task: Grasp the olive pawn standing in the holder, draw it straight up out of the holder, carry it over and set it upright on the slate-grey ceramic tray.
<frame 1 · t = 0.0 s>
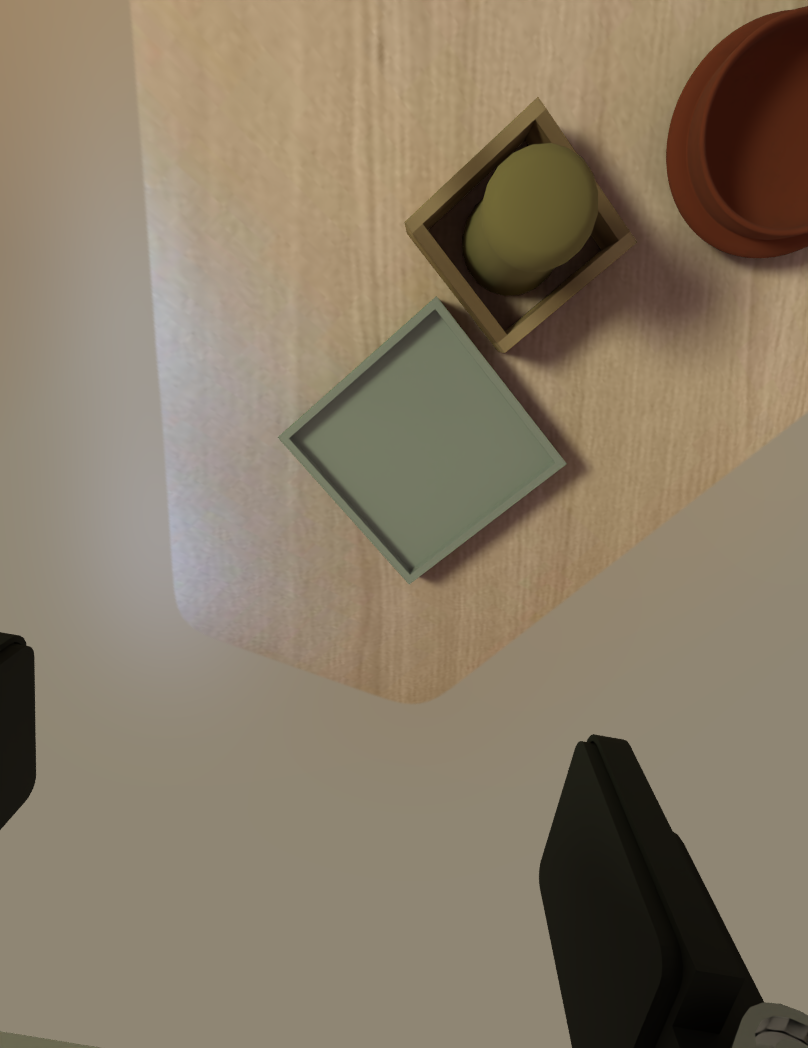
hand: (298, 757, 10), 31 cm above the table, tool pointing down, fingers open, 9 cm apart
pottery: (789, 71, 33), on the table
tray: (422, 445, 40), on the table
holder: (512, 242, 36), on the table
olive pawn: (511, 242, 36), resting in holder
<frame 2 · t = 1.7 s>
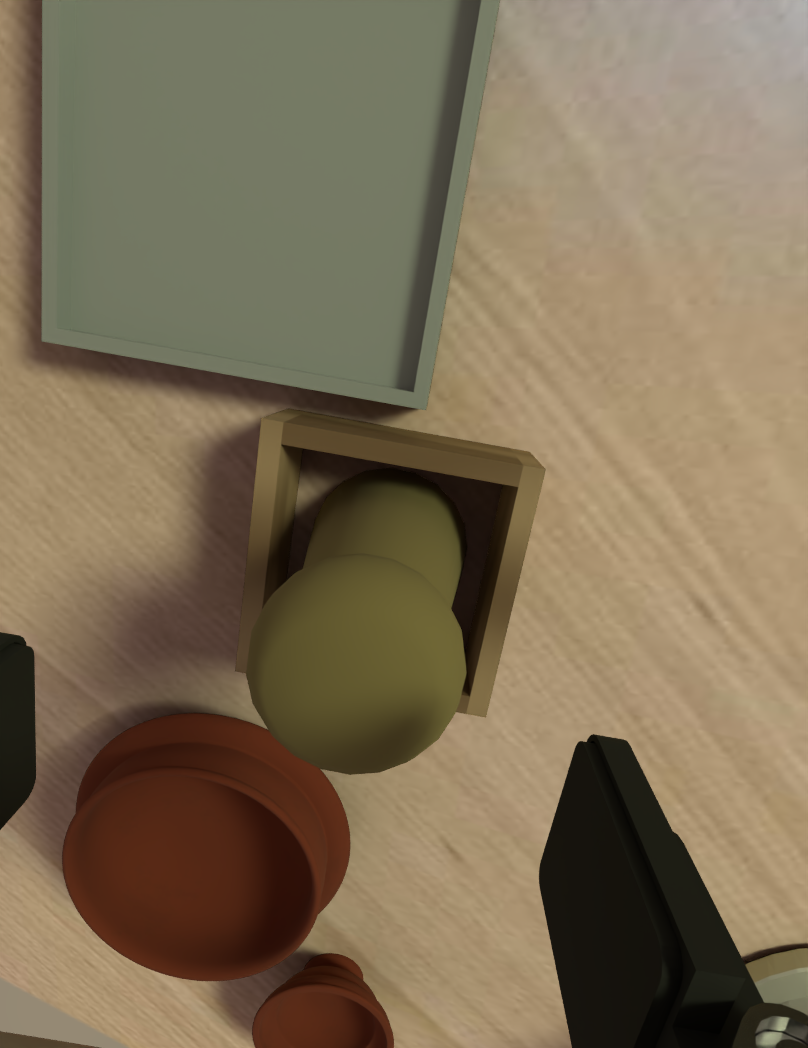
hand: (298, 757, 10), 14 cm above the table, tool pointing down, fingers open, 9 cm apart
pottery: (271, 866, 28), on the table
tray: (270, 176, 20), on the table
holder: (389, 544, 23), on the table
olive pawn: (389, 543, 24), resting in holder
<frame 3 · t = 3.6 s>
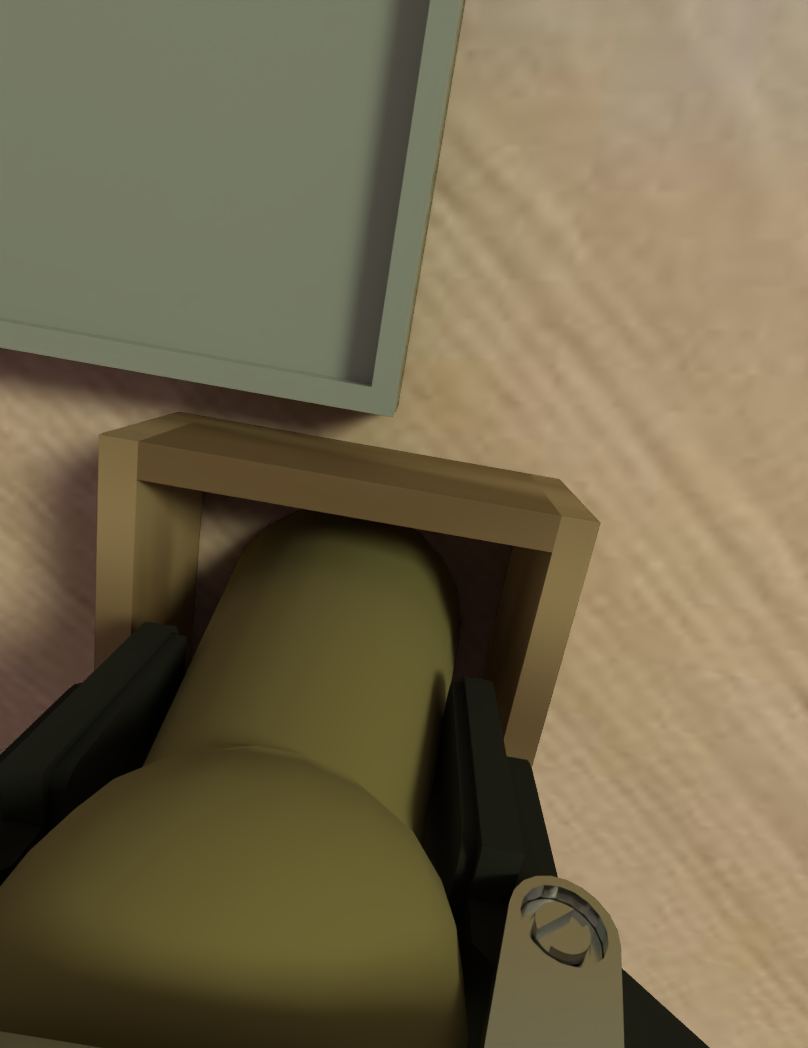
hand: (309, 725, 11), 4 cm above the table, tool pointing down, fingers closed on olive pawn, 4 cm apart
tray: (124, 14, 12), on the table
holder: (342, 618, 15), on the table
olive pawn: (343, 615, 15), resting in holder, touching gripper
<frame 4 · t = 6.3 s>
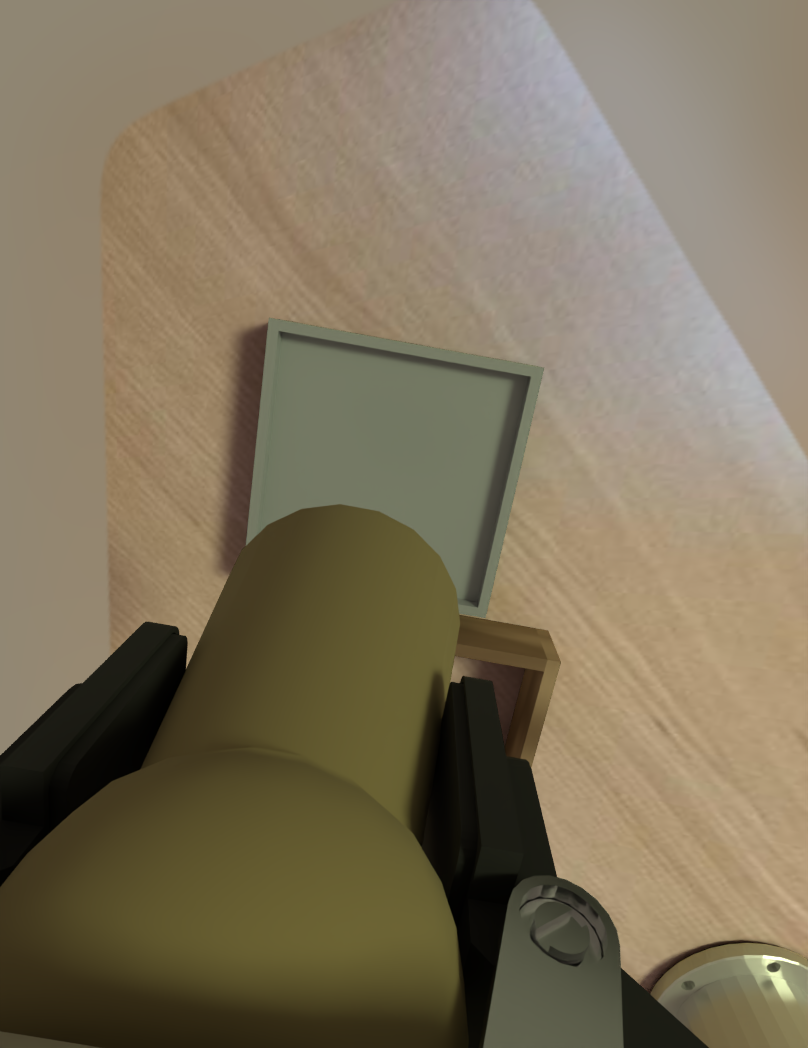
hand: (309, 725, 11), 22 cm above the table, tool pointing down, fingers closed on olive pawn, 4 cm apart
tray: (387, 469, 32), on the table
holder: (454, 685, 35), on the table
olive pawn: (342, 615, 15), point 17 cm above the table, touching gripper
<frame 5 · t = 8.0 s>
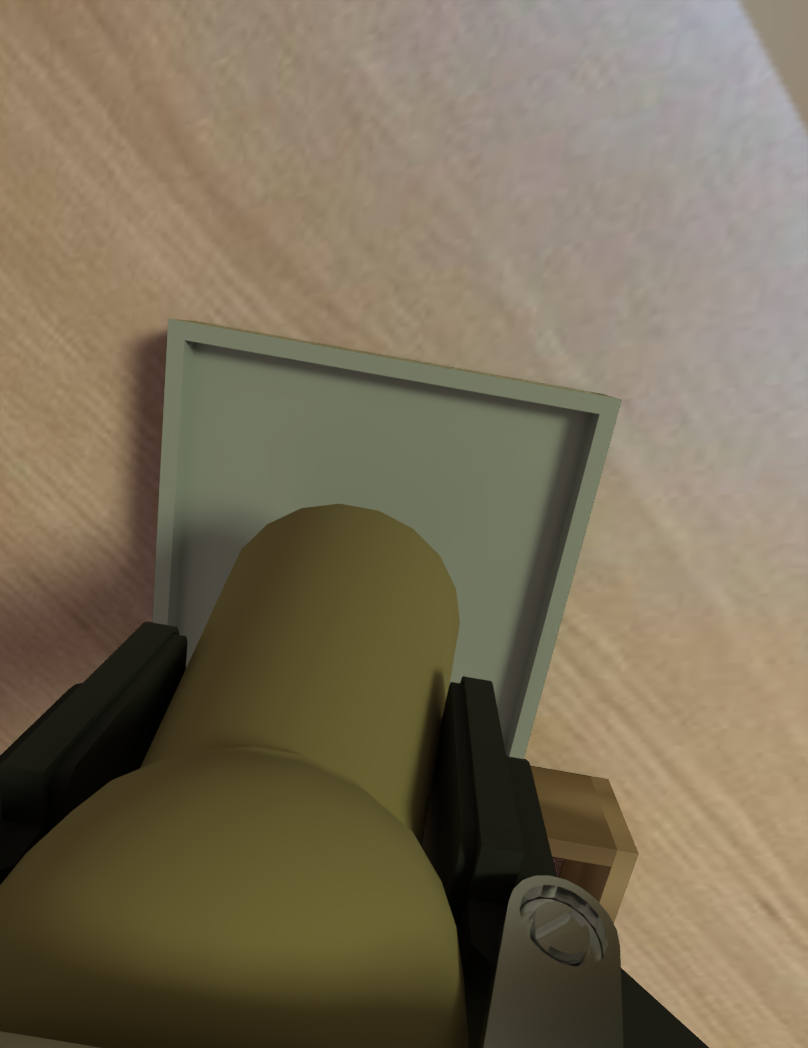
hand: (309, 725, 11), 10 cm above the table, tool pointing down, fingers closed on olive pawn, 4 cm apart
tray: (367, 550, 21), on the table
holder: (469, 851, 24), on the table
olive pawn: (341, 614, 15), point 5 cm above the table, touching gripper
when the fingers open (6 cm above the table, at t = 9.4 s): olive pawn stays where it is, resting on tray.
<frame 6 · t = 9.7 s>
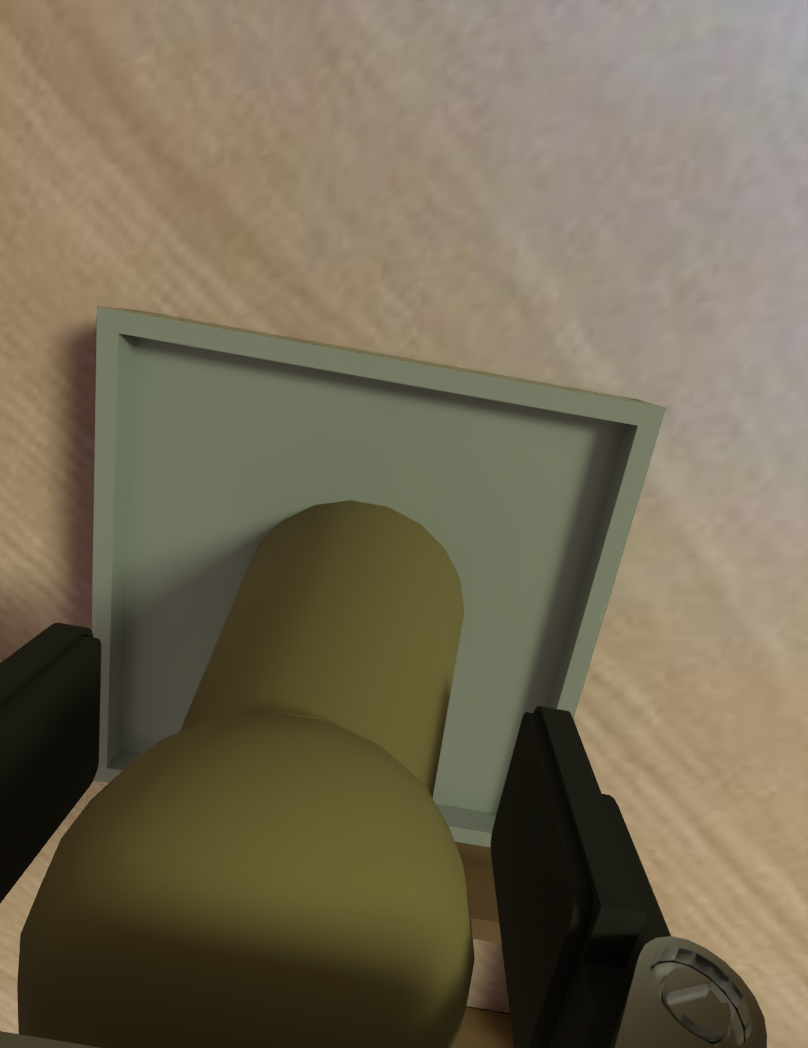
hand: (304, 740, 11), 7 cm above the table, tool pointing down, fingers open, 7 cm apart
tray: (352, 585, 17), on the table
holder: (472, 928, 21), on the table
olive pawn: (353, 605, 16), point 1 cm above the table, touching tray
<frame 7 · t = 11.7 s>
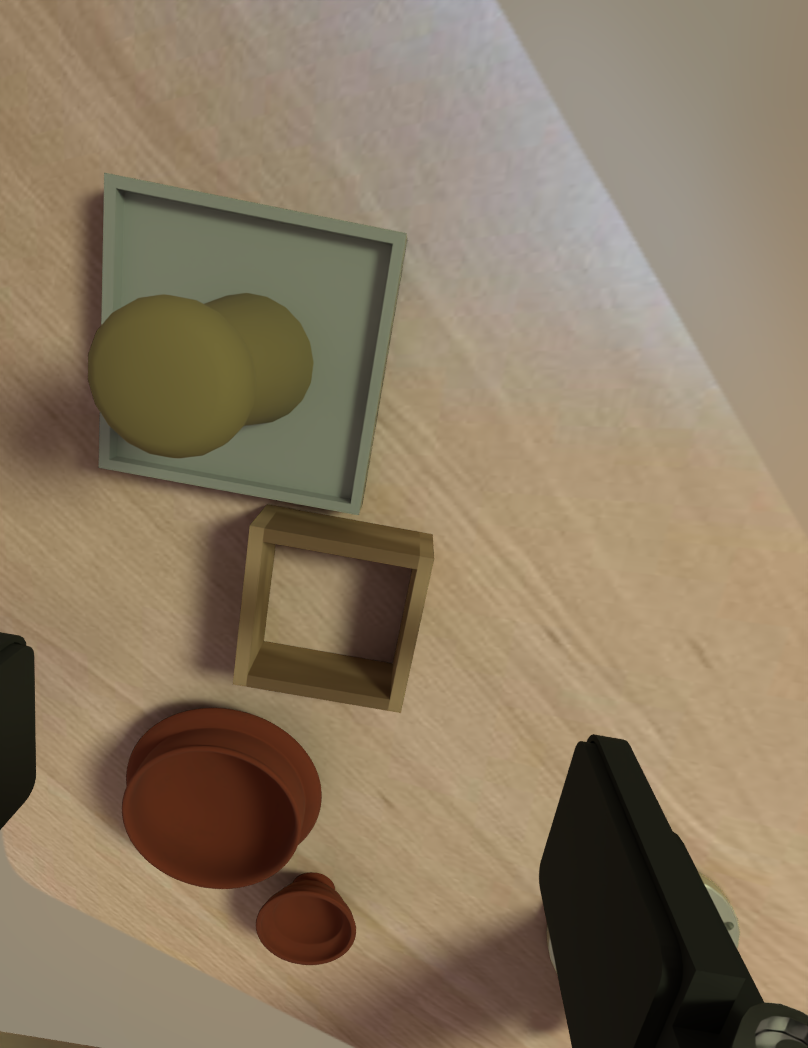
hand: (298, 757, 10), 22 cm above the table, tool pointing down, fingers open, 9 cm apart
pottery: (266, 812, 39), on the table
tray: (253, 355, 30), on the table
holder: (338, 594, 34), on the table
olive pawn: (251, 360, 29), point 1 cm above the table, touching tray
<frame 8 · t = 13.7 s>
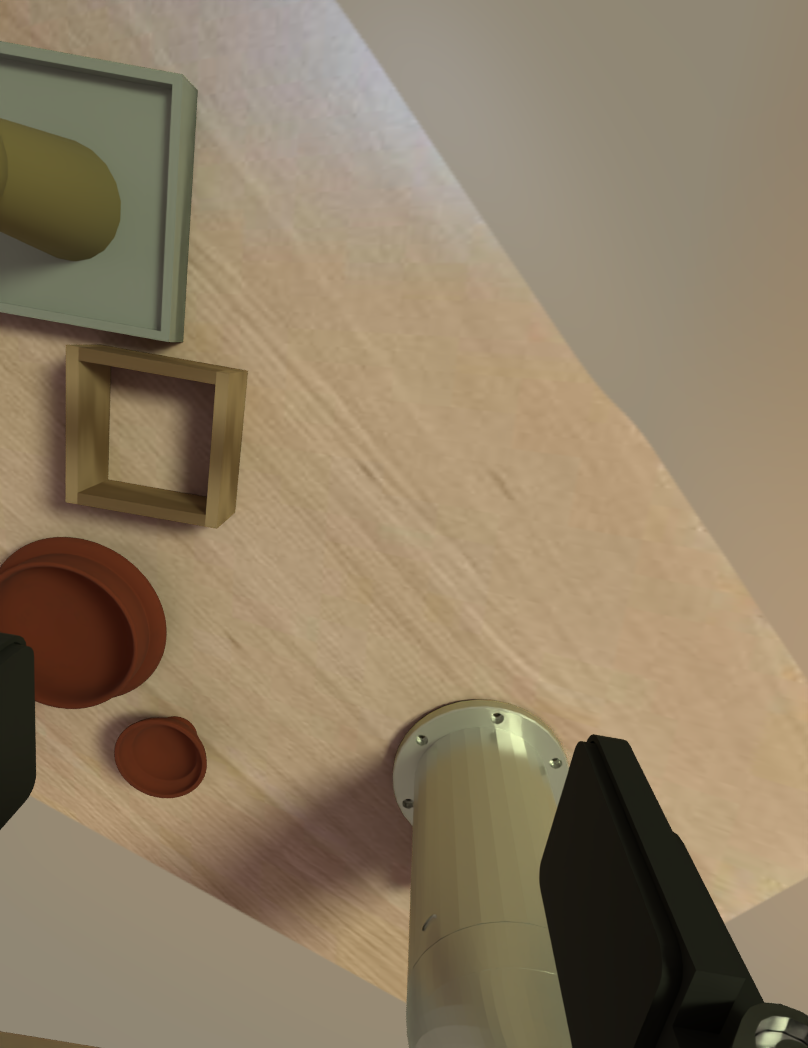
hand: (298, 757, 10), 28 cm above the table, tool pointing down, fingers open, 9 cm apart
pottery: (128, 656, 43), on the table
tray: (75, 202, 34), on the table
holder: (169, 431, 37), on the table
olive pawn: (68, 201, 33), point 1 cm above the table, touching tray
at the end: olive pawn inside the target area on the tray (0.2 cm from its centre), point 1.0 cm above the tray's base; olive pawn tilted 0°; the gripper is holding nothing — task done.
